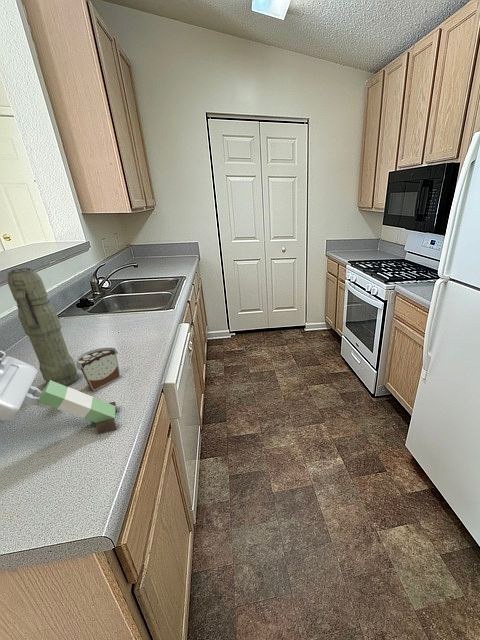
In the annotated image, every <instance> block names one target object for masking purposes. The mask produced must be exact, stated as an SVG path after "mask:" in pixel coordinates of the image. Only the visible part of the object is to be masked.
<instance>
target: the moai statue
mask: <svg viewBox="0 0 480 640" xmlns="http://www.w3.org/2000/svg"><path fill="white" fill-rule="evenodd" d="M7 285H8V287H9V290H10V292H11V295H12V297H13V300H14V301H15V302H16V307H17V316H18V319H19V321H20V324H21V327H22V329H23V331H24V334H25V335H26V336H27V337H28V338H29V341H30V343H31V345H32V348H33V350H34V353H35V355H36V358H37V360H38V363H39V371H40V373H41V376H42V378H43V380H44V381H45V383H46V385H47V384H48V382H49V381H50V380H51V381H54V382H56V383H59V384H61V385H64V386H66V387H69V386H71V385H73V384H75V383H76V382H77V381H78V380H79V379H80V376H79V373H78V368H77V365H76V363H75V361H74V357H72V356H71V355H70V353H69V349H68V346H67V344H66V341H65V339H64V336H63V333H62V330H61V328H62V325H61V321H60V320H59V316H58V314H57V310H56V308H54V306H53V304H51V301H50V299H49V298H48V292H47V289H46V287H45V284H44V281H43V279H42V277H41V276H40V275H39V274H38V272H37V271H36V270H35V269H32V268H30V267H29V268H27V267H25V268H24V267H23V268H16V269H11V270H9V272H7Z"/></svg>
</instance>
